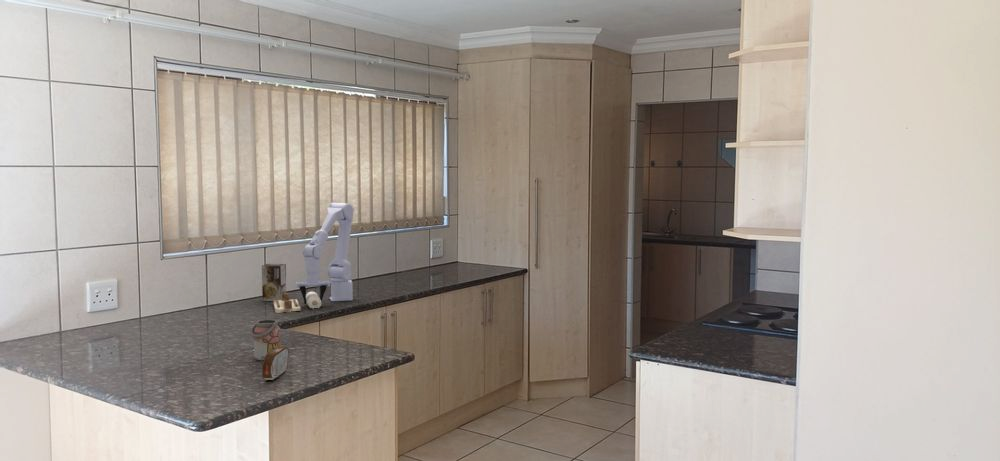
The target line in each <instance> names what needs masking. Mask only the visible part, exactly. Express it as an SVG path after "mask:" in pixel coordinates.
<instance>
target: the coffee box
mask: <svg viewBox="0 0 1000 461" xmlns="http://www.w3.org/2000/svg"><path fill="white" fill-rule="evenodd" d="M286 267H287V266H286V263H265V264H263V265H261V285H262V287H261V288H262V289H261V291H262V292H261V293H262V295H261V296H262V298H261V299H262V301H263V302H273V300H282V294H287V272H286V271H287V268H286Z"/></svg>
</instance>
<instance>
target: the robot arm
mask: <svg viewBox="0 0 1000 461" xmlns="http://www.w3.org/2000/svg"><path fill="white" fill-rule="evenodd" d="M354 211H355V209H354V208H353V206H352V204H351V203H349V202H347V203H344V202H343V203H342V202H330V204H329V205H328V207H327V210H326V212H327V214H326V218H325V219H324V221H323V224H322V226H321V228H320V229H318V230H316V231H315V232H314V235H313V236H312V238H311V240H310V242H309V243H308V244H306V245H305V246H304V247H303V249H302V255H303V257H304V261H305V281H299V282H298V281H297V282H296V281H295V284H294V285H295V288H299V290H300V292H301V294H302V298H303V303H304V305H305V304H306V305H307V302H306V294H307V288H308V287H309V288H310V287H311V288H312V287H314V288H315V287H319V298H320V299H321V304H322V303H323V299H324V298H323V297H324V295H325V293H326V290H327V287H331V289H330V291H331V294H330V295H331V296H329V299H330V301H331V302H342V301H343V302H344V301H345V302H346V301H347V302H348V301H353V300H354V297H353V296H354V295H353V294H354V293H353V285H354V284H353V280H351V279H350V278H351V276H352V264H351V262H350V261H348V255H349V246H350V241H351V240H350V239H351V232H352V223H353V218H354ZM336 222H337V223H338V225H339V227H338V232H337V233H338V234H337V240H336V248H335V254H334V258H333V259H331V261H329V266H328V268H327V274H326V275H327V276H328V278H329V280H323V281H322V280H320V276H321V274H320V269H321V268H320V258H321V257H322V255H323V251H324V245H325V244H326V243H327V240H328V239H329V234H328V233H329V232H330V231H331V229H332V227H333V226H334V225H335V223H336Z"/></svg>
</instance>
